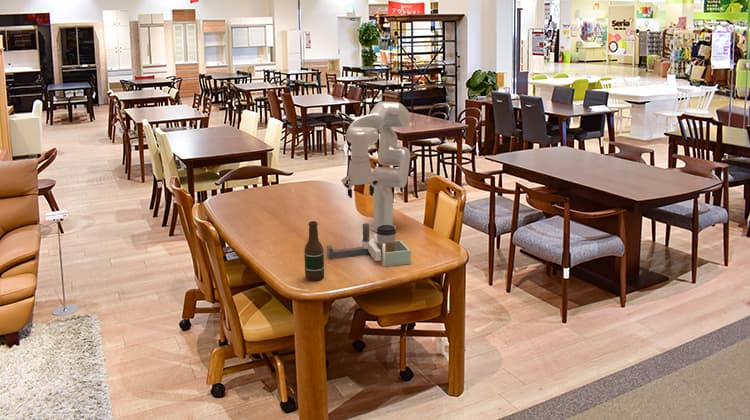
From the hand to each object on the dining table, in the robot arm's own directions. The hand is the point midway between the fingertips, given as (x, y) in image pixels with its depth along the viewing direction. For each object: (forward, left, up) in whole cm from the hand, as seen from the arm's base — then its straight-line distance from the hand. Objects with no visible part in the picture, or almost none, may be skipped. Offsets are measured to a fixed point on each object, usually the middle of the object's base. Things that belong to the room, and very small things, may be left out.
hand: (360, 196), depth 312 cm
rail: (+6, -3, -26) cm, 26 cm away
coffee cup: (+16, +7, -26) cm, 31 cm away
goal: (+16, +10, -26) cm, 31 cm away
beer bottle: (+28, -27, -26) cm, 46 cm away
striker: (+12, +2, -24) cm, 27 cm away
